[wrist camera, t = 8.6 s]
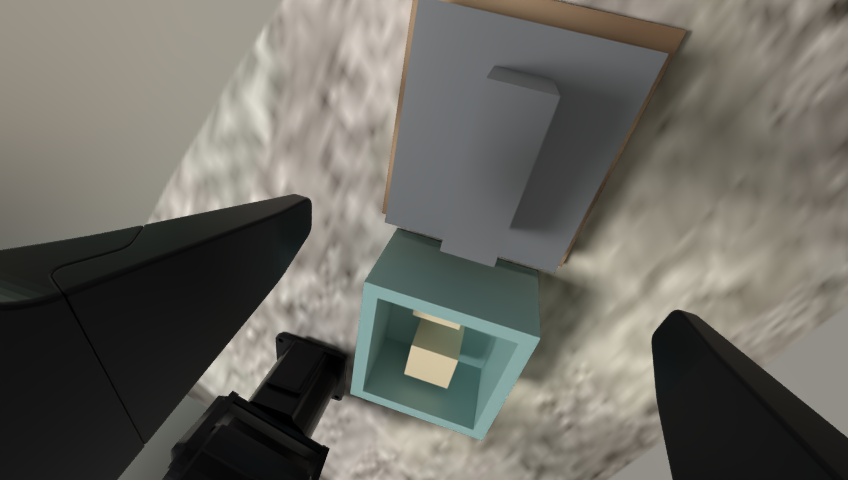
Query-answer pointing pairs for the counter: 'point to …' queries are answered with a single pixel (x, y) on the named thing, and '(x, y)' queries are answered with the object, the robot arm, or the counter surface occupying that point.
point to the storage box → (444, 333)
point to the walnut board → (539, 6)
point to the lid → (509, 131)
